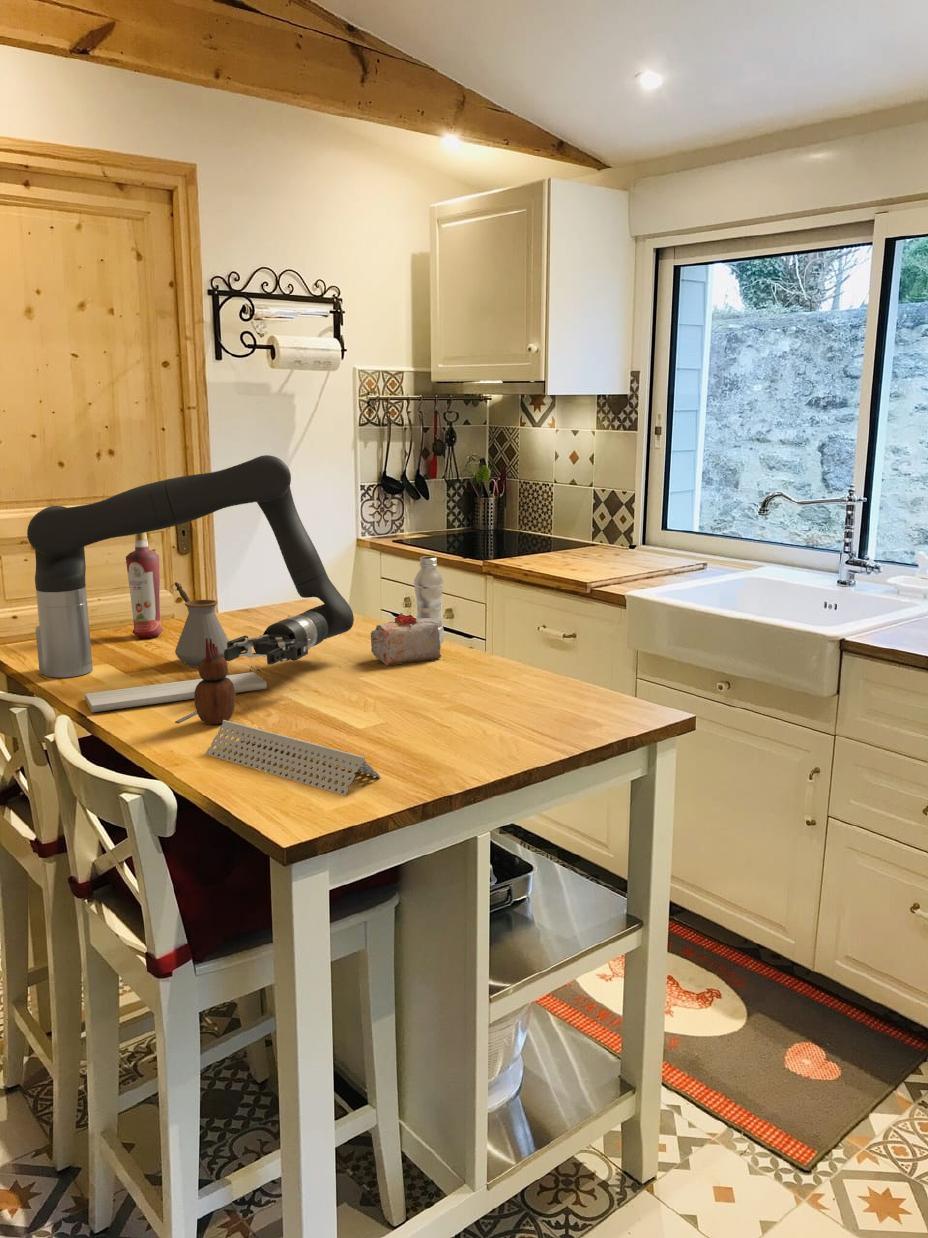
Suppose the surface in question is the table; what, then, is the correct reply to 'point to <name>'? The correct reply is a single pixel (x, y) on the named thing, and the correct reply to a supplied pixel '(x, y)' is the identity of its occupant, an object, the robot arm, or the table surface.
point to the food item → (406, 640)
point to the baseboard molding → (164, 692)
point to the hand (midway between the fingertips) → (247, 657)
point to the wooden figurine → (214, 688)
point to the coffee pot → (199, 631)
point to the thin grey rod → (188, 716)
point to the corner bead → (293, 748)
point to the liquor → (144, 589)
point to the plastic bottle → (429, 592)
